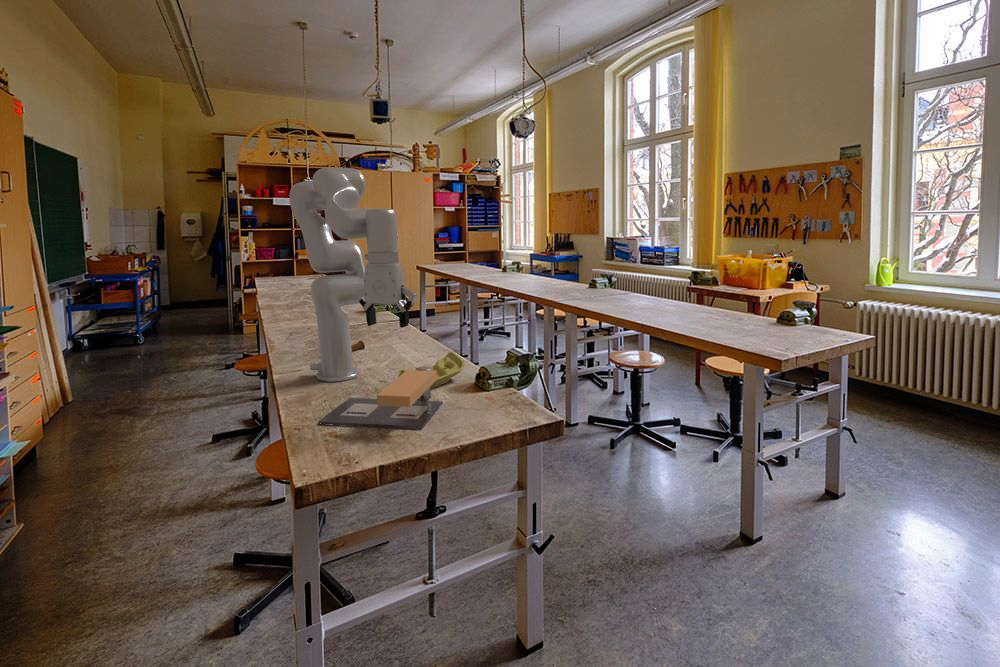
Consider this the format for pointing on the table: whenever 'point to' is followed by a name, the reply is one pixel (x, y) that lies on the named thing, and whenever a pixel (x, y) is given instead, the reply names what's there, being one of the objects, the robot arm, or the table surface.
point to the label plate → (383, 413)
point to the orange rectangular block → (407, 387)
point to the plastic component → (445, 368)
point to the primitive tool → (357, 346)
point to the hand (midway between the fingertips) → (387, 325)
